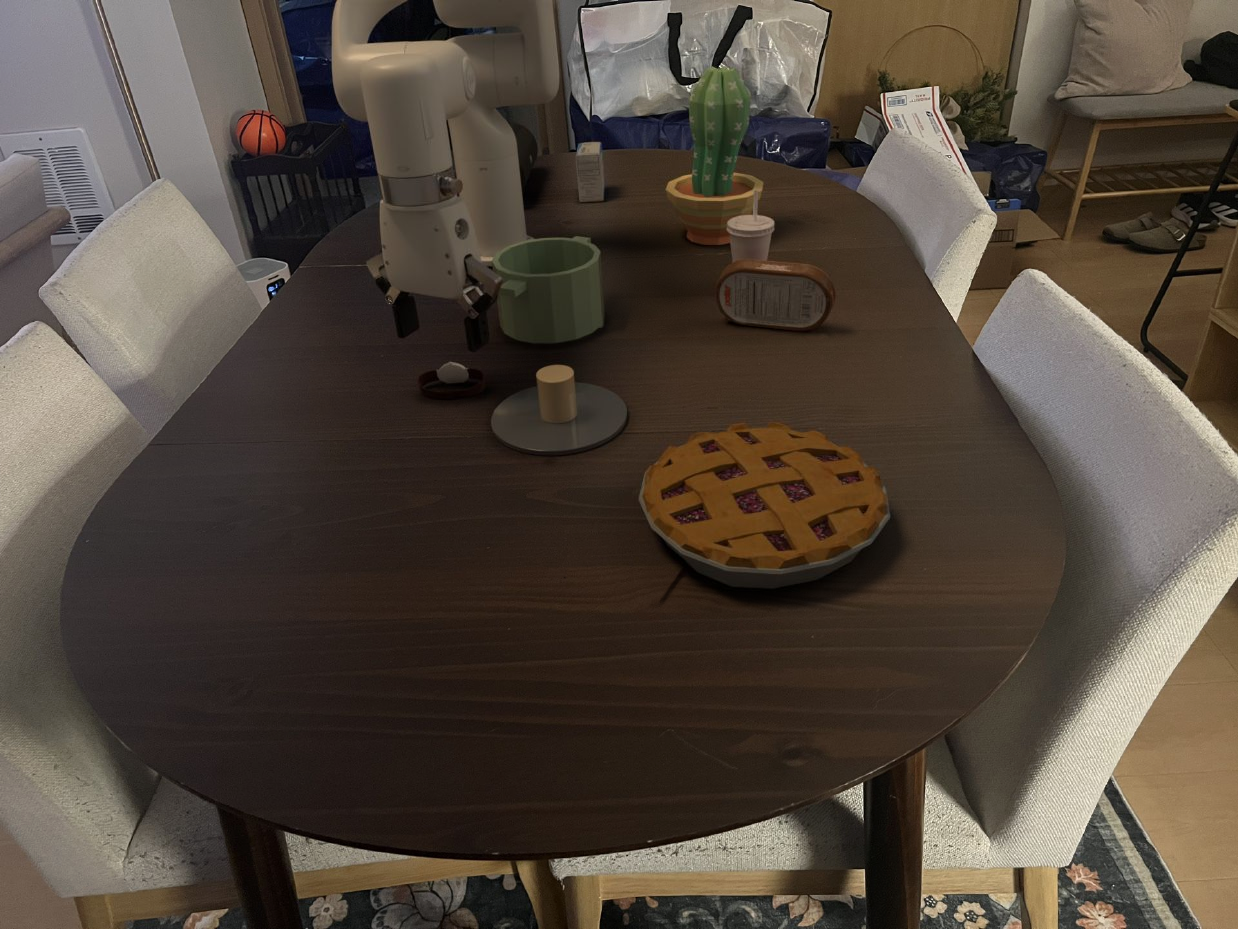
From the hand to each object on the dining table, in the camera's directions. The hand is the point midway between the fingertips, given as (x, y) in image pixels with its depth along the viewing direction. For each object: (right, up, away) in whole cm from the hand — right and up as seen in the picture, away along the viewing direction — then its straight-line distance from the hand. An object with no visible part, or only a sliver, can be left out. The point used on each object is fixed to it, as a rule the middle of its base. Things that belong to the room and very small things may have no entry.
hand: (443, 340), depth 103 cm
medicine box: (+15, +35, +65) cm, 76 cm away
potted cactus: (+35, +23, +45) cm, 61 cm away
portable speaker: (-1, +38, +71) cm, 80 cm away
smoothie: (+38, +10, +26) cm, 47 cm away
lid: (+13, -9, -3) cm, 16 cm away
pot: (+11, +5, +19) cm, 22 cm away
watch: (0, -6, +4) cm, 7 cm away
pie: (+33, -19, -19) cm, 42 cm away
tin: (+39, +4, +16) cm, 43 cm away
